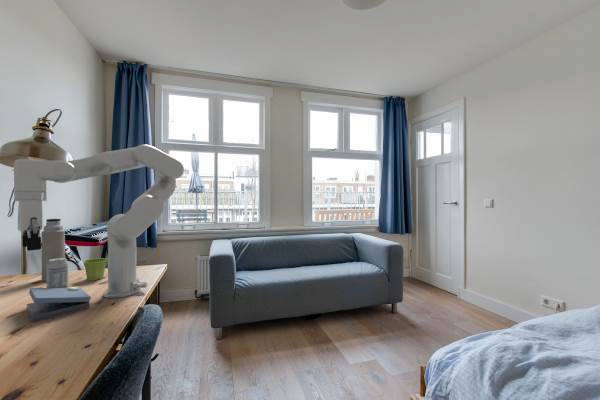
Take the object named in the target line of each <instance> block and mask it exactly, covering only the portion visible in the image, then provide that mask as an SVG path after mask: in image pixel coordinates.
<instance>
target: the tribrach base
mask: <svg viewBox="0 0 600 400" xmlns="http://www.w3.org/2000/svg"><path fill="white" fill-rule="evenodd" d="M87 309H90V302H58V303H34V302H30V303H27V304H26V311H27V314H28V316H29V318H30V322H31V323H36V322H40V321H43V320H48V319H53V318H55V317H59V316H63V315H67V314H71V313H74V312H79V311H84V310H87Z"/></svg>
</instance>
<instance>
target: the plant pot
mask: <svg viewBox="0 0 600 400" xmlns="http://www.w3.org/2000/svg"><path fill="white" fill-rule="evenodd" d="M82 263H83V266H84V270H85V275H86V281H87V280H88V281H97V280H102V279H103V278H104V275H105V269H106V264H108V257H106V258H103V257H98V258H90V259H86V260H85V259H84V260H83V261H82Z"/></svg>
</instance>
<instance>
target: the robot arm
mask: <svg viewBox="0 0 600 400" xmlns="http://www.w3.org/2000/svg"><path fill="white" fill-rule="evenodd" d="M145 167H148V168H149V169H151V170H153V171H154V172H155V176H156V177H155V178H156V179H155V181H154V184H153V185H152V186H150V187H149V188H148V189H147V190H146V191H144V193H142V194H141V195H139V196H138V197H136V199H135V200H134V201H133V202H132V204H131V208H130V209H128V210H127V211H126V212H125V213H119V214H115V215H114V216H112V217H111V218H110V219H109V220H108V222H107V226H106V234H107V235H106V236H107V237H106V238H107V259H108V260H107V289H105V290H104V291H103V292H102V296H103V297H105V298H107V299H116V298H124V297H129V296H132V295H135V294H138V293H139V292H140V291H141V289H144V288H145V289H146V288H147V287H148V282H146V281H140V278H137V238H138V237H139V236H141V235H142V234H143V233H144V232H145V231H146V230H147V229H148V228H149V227H150V226H152V224H153V223H155V222H156V221H157V220H158V219H159V218H160V216H161V215H162V214H163V211H164V204H165V203H166V202H167V201H168V200H169V199H170V198H171V197H172V195H173V194H174V192H175V190H176V185H177V184H176V182H177V180H176V179H179V178H181V177H182V175H183V174H184V173H185V172H184V171H185V168H184V166H183V163H182V162H181V161H180V160H178V159H177V158H175V157H174V156H171V155H169V154H168V153H165V152H163V151H162V150H160V149H158V148H156V147H155V146H152V145H149V144H140V145H137V146H135V147H134V146H133V147H128V148H124V149H123V148H122V149H116V150H111V151H110V150H109V151H103V152H100V153H96V154H94V155H91V156H88V157H84V158H80V159H74V160H73V159H72V160H68V161H67V160H58V159H57V160H41V159H40V160H38V159H32V158H19V159H16V160H15V161H14V162H13V198H14V199H13V200H14V202H18V207H17V231H19V232H22V235H21V236H22V237H21V238H22V239H21V240H22V241H21V242H22V245H21V246H22V247H23V248H26V251H28V252H29V251H39V250H42V234H41V231H43V220H44V219H43V202H47V198H48V197H47V181H49V182H54V183H57V184H65V183H70V182H74V181H78V180H83V179H89V178H94V177H101V176H107V175H112V174H116V173H121V172H127V171H130V170H131V171H132V170H136V169H140V168H145Z"/></svg>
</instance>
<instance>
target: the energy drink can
mask: <svg viewBox="0 0 600 400" xmlns="http://www.w3.org/2000/svg"><path fill="white" fill-rule="evenodd" d="M68 287H69V261H68V260H67V257H65V258H55V259H50V260H49V262H48V264H47V281H46V288H68Z"/></svg>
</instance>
